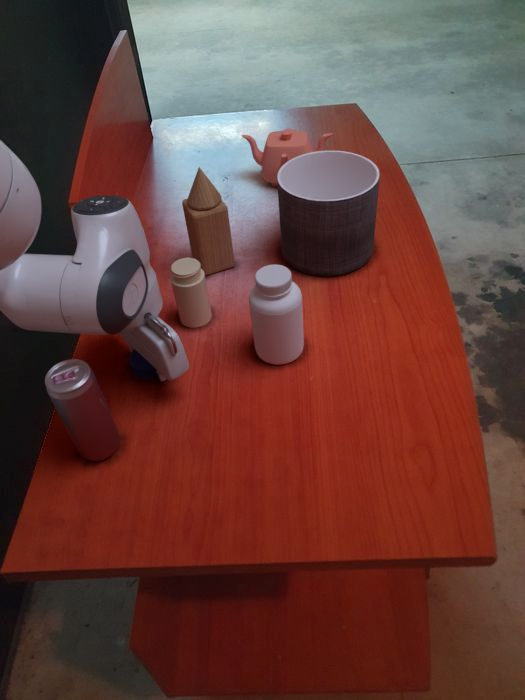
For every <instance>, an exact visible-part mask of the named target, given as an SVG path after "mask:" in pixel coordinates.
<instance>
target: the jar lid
mask: <svg viewBox="0 0 525 700" xmlns="http://www.w3.org/2000/svg"><path fill="white" fill-rule="evenodd" d="M128 360H129V364H130V369H131V371H132V373H133V375H134V376H135V377H137V378H139V379H142V380H154V379H156V378H157V379H158V377H157V376H156V374H155V371H154V370H155V369H156V368H155V367H153V366H152V365H151V364H150V363H149V362H148V361H147V360H146V359H145V358H144V357H143V356H142V355H140V354H139V353H138V352H137V351H136V350H135V349H134V350H133V351H132V352H131V351H130V354H129V357H128Z"/></svg>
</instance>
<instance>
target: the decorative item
mask: <svg viewBox="0 0 525 700" xmlns="http://www.w3.org/2000/svg"><path fill="white" fill-rule="evenodd" d="M181 203H182V210H183V215H184V221H185V225H186V231H187V237H188V242H189V246H190V252H191V258H194V259H196V260H198V261H199V262H200V264H201V269H202V270H203V271H204V273H205V276H209V275H212V274H215V273H218V272H221V271H225V270H227V269H231V268H233V267H234V266H235V255H234V247H233V239H232V233H231V232H232V231H231V224H230V217H229V208H228V206H227V204H226V203H225V202H224V200H223V199H222V194H221V193H220V192H219V191H218V189H217V188H216V186H215V185H214V184H213V183H212V181H211V180H210V179H209V178H208V176H207V175H206V173H205V172H204V171H203V169H202V168H201V167H200V166H198V169H197V172H196V174H195V177H194V179H193V182H192V185H191V188H190V191H189V193H188V196H187V198H185V199H183V200H182V202H181Z"/></svg>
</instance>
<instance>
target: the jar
mask: <svg viewBox="0 0 525 700" xmlns="http://www.w3.org/2000/svg"><path fill="white" fill-rule="evenodd" d="M170 270H171V275H170V283H171V288H172V291H173V296H174V300H175V304H176V309H177V313H178V317H179V321H180V323H181V324H182V325H183V326H184V327H187V328H190V329H191V328H201V327H203V326H206V325H207V324H209V322H210V321H211V320H212V317H213V313H212V307H211V302H210V296H209V290H208V285H207V280H206V275H205V273H204V271H203V270H202V269H201V264H200V262H199V261H198V260H196V259H194V258H193V257H181V258H179V259H176V260H175V261H174V262H173V263H172V264H171V267H170Z"/></svg>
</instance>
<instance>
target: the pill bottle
mask: <svg viewBox="0 0 525 700" xmlns="http://www.w3.org/2000/svg"><path fill="white" fill-rule="evenodd" d="M254 284H255V285H253V287H251V290H250V292H249V295H248V305H249V312H250V320H251V326H252V327H251V329H252V336H253V343H254V349H255V352H256V354H257V356H258V357H259V358H260V359H261V360H262V361H263V362H265V363H268V364H271V365H276V366H277V365H278V366H279V365H286V364H290V363H292V362H294V361H295V360H297V359H298V358H300V356H301V355H302V353H303V351H304V347H305V336H304V335H305V334H304V317H303V316H304V313H303V312H304V311H303V296H302V295H303V294H302V291H301V289H300V287H299V286H298V284H297V283H296V282H294V281H293V276H292V271H291V270H290V269H289V268H288V267H286V266H284V265H281V264H268V265H264V266H262V267H260V268H259V269H258V270H257V271H256V273H255V275H254Z"/></svg>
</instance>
